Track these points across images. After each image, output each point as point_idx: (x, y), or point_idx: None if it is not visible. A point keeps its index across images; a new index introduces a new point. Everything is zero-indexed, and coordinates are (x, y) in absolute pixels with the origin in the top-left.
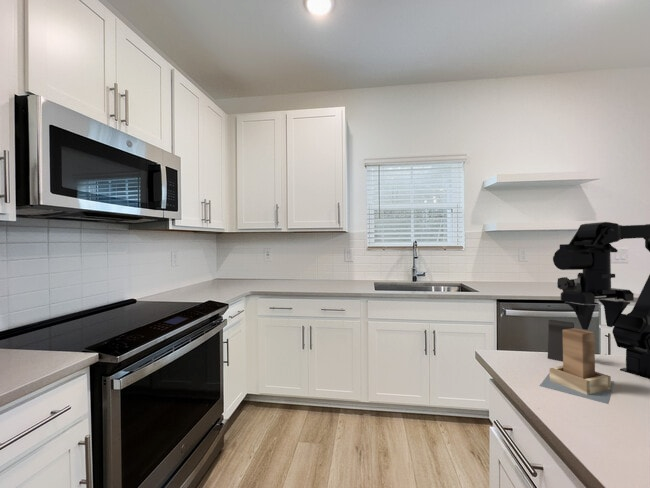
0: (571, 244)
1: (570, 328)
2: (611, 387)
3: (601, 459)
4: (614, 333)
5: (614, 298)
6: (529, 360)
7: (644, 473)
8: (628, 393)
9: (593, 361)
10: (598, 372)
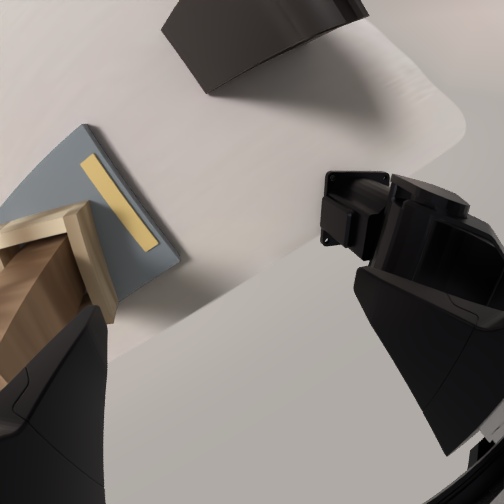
0: None
1: (296, 26)
2: (129, 292)
3: None
4: (401, 213)
5: (496, 439)
6: (108, 9)
7: None
8: (167, 298)
9: None
10: (101, 296)
